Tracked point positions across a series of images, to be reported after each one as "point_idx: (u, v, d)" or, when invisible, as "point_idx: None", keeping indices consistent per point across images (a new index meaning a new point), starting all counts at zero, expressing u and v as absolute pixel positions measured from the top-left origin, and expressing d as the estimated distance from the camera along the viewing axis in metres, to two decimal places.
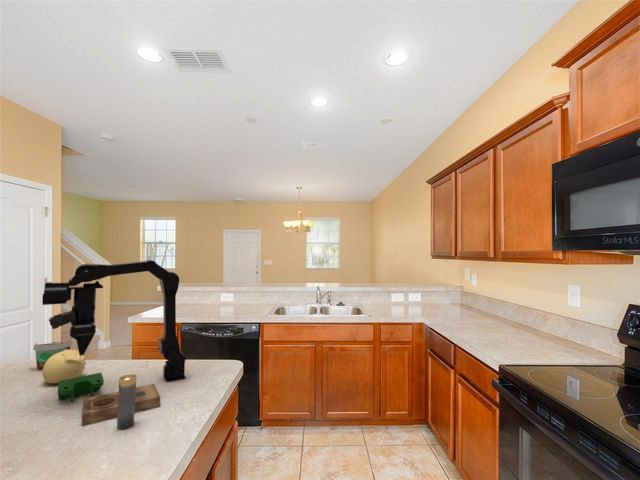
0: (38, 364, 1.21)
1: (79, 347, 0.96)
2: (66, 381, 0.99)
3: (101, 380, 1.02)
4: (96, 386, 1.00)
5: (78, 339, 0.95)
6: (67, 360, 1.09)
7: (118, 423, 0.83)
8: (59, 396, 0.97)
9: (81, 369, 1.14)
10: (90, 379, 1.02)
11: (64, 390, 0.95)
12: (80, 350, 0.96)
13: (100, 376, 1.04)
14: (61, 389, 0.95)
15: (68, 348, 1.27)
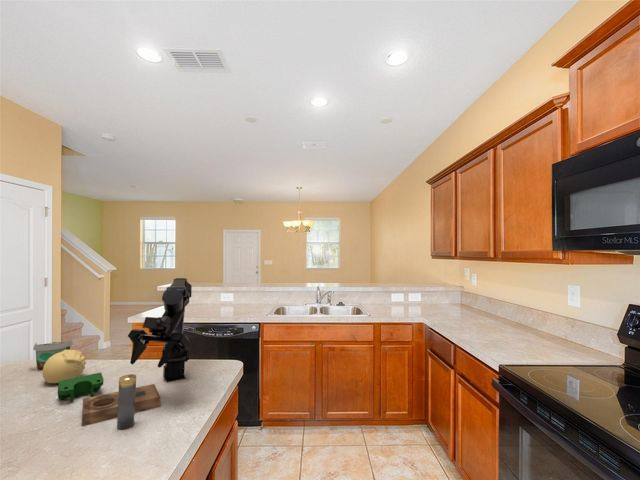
0: (38, 364, 1.21)
1: (164, 357, 0.93)
2: (66, 381, 0.99)
3: (101, 380, 1.02)
4: (96, 386, 1.01)
5: (171, 348, 0.95)
6: (67, 360, 1.09)
7: (118, 423, 0.83)
8: (59, 396, 0.98)
9: (81, 369, 1.14)
10: (90, 379, 1.02)
11: (64, 390, 0.95)
12: (162, 361, 0.93)
13: (100, 376, 1.04)
14: (61, 389, 0.95)
15: (68, 348, 1.27)
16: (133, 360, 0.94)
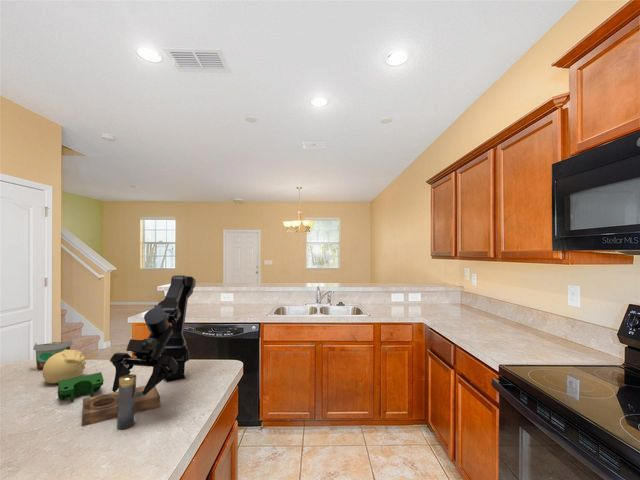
0: (38, 364, 1.21)
1: (150, 383, 0.86)
2: (66, 381, 0.99)
3: (101, 380, 1.02)
4: (96, 386, 1.01)
5: (157, 373, 0.88)
6: (67, 360, 1.09)
7: (118, 423, 0.83)
8: (59, 396, 0.98)
9: (81, 369, 1.14)
10: (90, 379, 1.02)
11: (64, 390, 0.95)
12: (148, 387, 0.86)
13: (100, 376, 1.04)
14: (61, 389, 0.95)
15: (68, 348, 1.27)
16: (115, 387, 0.87)
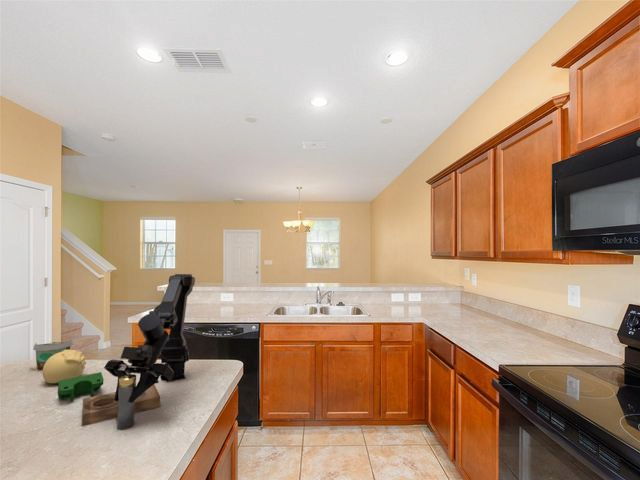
0: (38, 364, 1.21)
1: (136, 391, 0.85)
2: (66, 381, 0.99)
3: (101, 380, 1.03)
4: (96, 386, 1.01)
5: (144, 381, 0.86)
6: (67, 360, 1.09)
7: (118, 423, 0.83)
8: (59, 396, 0.98)
9: (81, 369, 1.14)
10: (90, 379, 1.02)
11: (64, 390, 0.95)
12: (135, 395, 0.84)
13: (100, 376, 1.04)
14: (61, 389, 0.95)
15: (68, 348, 1.27)
16: None
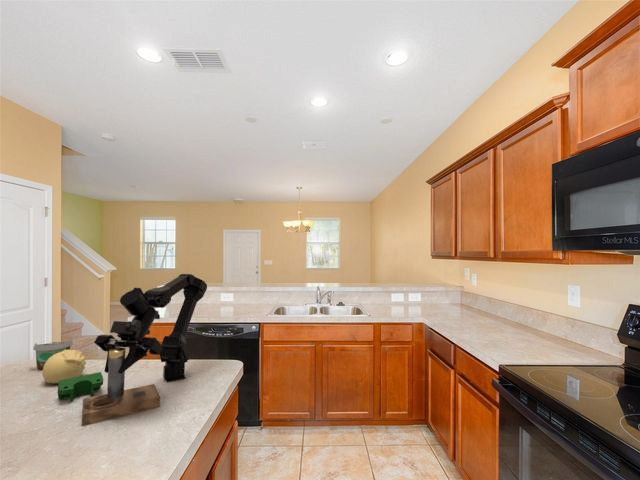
0: (38, 364, 1.21)
1: (126, 363, 0.89)
2: (66, 380, 0.99)
3: (101, 379, 1.03)
4: (96, 385, 1.01)
5: (133, 353, 0.90)
6: (67, 360, 1.09)
7: (108, 393, 0.87)
8: (59, 395, 0.98)
9: (81, 369, 1.14)
10: (90, 379, 1.02)
11: (64, 389, 0.95)
12: (124, 367, 0.88)
13: (100, 375, 1.04)
14: (61, 388, 0.96)
15: (68, 348, 1.27)
16: None
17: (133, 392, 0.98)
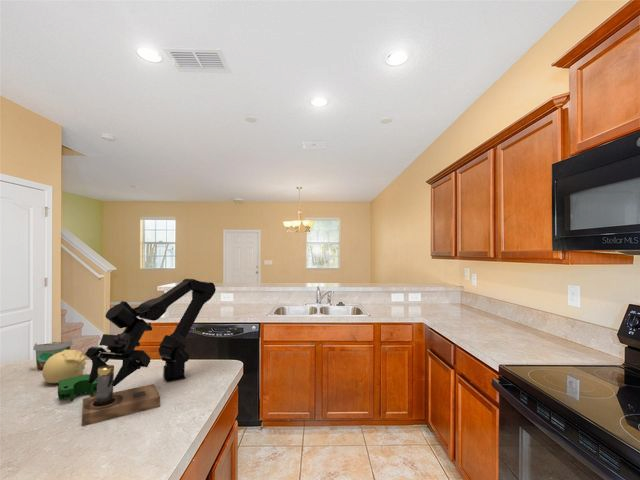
0: (38, 364, 1.21)
1: (119, 375, 0.91)
2: (66, 380, 0.99)
3: None
4: (96, 385, 1.01)
5: (127, 366, 0.93)
6: (67, 360, 1.09)
7: None
8: (59, 395, 0.98)
9: (81, 369, 1.14)
10: None
11: (64, 389, 0.96)
12: (117, 379, 0.90)
13: None
14: (61, 388, 0.96)
15: (68, 348, 1.27)
16: (91, 380, 0.91)
17: (133, 392, 0.98)
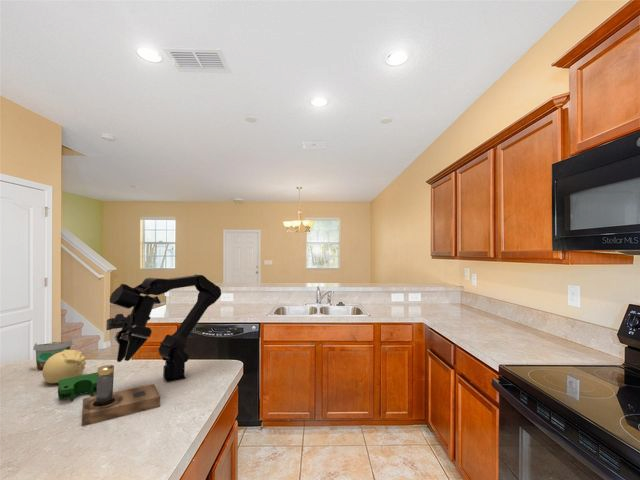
0: (38, 364, 1.21)
1: (127, 351, 0.96)
2: (66, 380, 0.99)
3: None
4: (96, 385, 1.01)
5: (131, 341, 0.96)
6: (67, 360, 1.09)
7: None
8: (59, 395, 0.98)
9: (81, 369, 1.14)
10: (90, 378, 1.02)
11: (64, 389, 0.96)
12: (127, 354, 0.96)
13: None
14: (61, 388, 0.96)
15: (68, 348, 1.27)
16: (119, 358, 1.02)
17: (133, 392, 0.98)
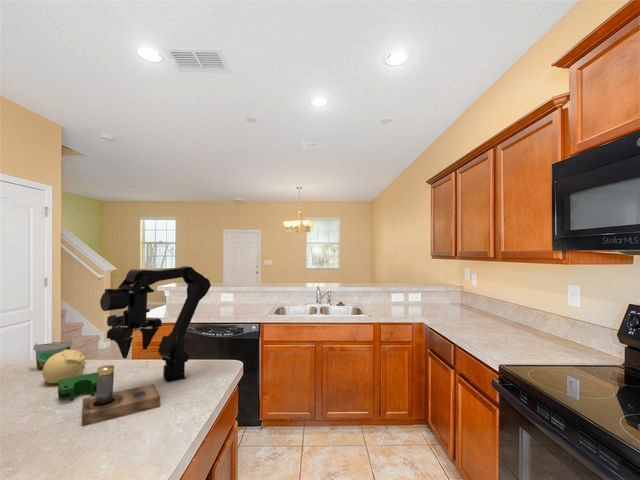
0: (38, 364, 1.21)
1: (121, 350, 0.99)
2: (66, 380, 1.00)
3: None
4: (96, 385, 1.01)
5: (118, 342, 0.98)
6: (67, 360, 1.09)
7: None
8: (59, 395, 0.98)
9: (81, 369, 1.14)
10: (90, 378, 1.03)
11: (64, 389, 0.96)
12: (122, 353, 0.99)
13: None
14: (61, 388, 0.96)
15: (68, 348, 1.27)
16: (143, 346, 1.09)
17: (133, 392, 0.98)
